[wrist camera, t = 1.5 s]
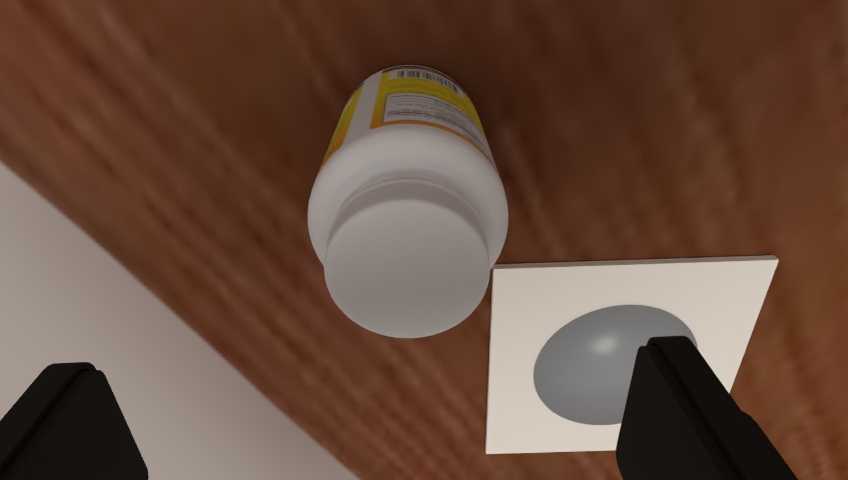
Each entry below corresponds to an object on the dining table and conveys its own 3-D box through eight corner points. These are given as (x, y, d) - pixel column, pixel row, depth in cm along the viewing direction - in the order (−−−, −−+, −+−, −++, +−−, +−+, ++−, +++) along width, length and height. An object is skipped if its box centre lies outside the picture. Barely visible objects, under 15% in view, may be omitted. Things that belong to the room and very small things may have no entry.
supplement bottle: (377, 212, 23) (352, 388, 14) (316, 95, 20) (238, 222, 12) (498, 166, 22) (553, 325, 13) (450, 36, 19) (478, 125, 10)
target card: (773, 255, 24) (780, 261, 24) (705, 441, 31) (710, 448, 30) (492, 264, 24) (494, 270, 24) (485, 448, 31) (486, 455, 31)
